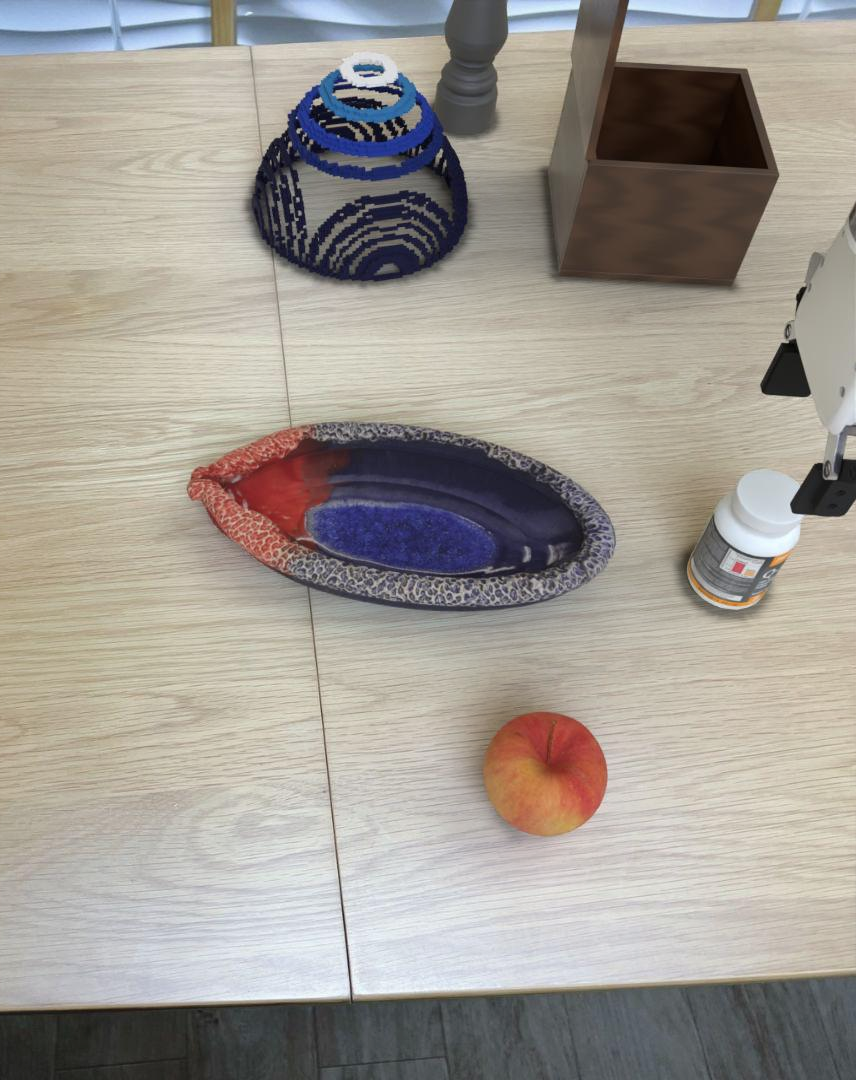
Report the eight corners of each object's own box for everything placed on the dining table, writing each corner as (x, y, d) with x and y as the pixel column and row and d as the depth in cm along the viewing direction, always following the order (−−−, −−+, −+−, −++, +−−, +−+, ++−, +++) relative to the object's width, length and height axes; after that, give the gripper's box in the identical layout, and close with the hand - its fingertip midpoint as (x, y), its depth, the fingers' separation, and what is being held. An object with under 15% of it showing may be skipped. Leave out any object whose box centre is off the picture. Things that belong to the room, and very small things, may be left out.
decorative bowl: (495, 264, 100) (523, 122, 88) (280, 295, 96) (280, 153, 85) (430, 136, 111) (447, -5, 99) (236, 160, 108) (230, 18, 96)
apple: (485, 861, 67) (507, 811, 61) (464, 751, 71) (483, 694, 65) (602, 851, 68) (636, 800, 61) (574, 742, 72) (603, 684, 65)
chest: (706, 180, 108) (747, 68, 98) (731, 287, 99) (780, 175, 89) (547, 171, 108) (573, 58, 98) (558, 276, 99) (588, 164, 89)
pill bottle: (759, 622, 78) (815, 541, 70) (679, 599, 79) (724, 516, 71) (767, 560, 81) (820, 475, 73) (689, 539, 82) (733, 453, 74)
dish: (598, 664, 75) (615, 627, 71) (167, 585, 78) (161, 544, 74) (608, 492, 84) (624, 450, 80) (221, 426, 87) (218, 382, 83)
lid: (617, -147, 85) (608, -147, 85) (640, -47, 75) (629, -48, 76) (578, 54, 98) (570, 54, 98) (593, 160, 89) (584, 159, 89)
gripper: (1071, 349, 49) (895, 568, 63) (959, 125, 59) (829, 355, 73) (903, 338, 49) (763, 559, 63) (820, 116, 59) (716, 348, 73)
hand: (798, 449), depth 68 cm, fingers open, 9 cm apart
